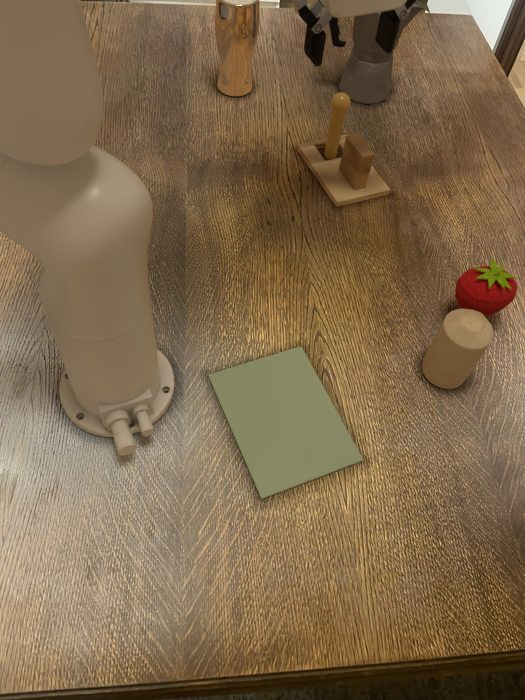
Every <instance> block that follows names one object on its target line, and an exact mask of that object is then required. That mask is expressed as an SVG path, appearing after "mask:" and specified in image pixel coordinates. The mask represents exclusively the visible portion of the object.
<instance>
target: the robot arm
mask: <svg viewBox="0 0 525 700" xmlns="http://www.w3.org/2000/svg"><path fill="white" fill-rule="evenodd" d="M416 1H417V0H313V2H312V3H311V4H310V6H308V1H307V0H291V3H292V5H293V7H294V11H295V13H296V14H297V15H298V16H299V18H300V19H301V20H302V21H303V22H304V23H305V24H306V26H305V27H306V28H305V36H304V44H303V52H304V54H305V55H306V57H307V58H308V59H309V61H310V62H311V63H312V64H313V65H314V67H320V66H321V65H322V64H323V61H324V60H323V59H324V52H325V45H326V40H327V33H326V31H325V30H324V29H325V28H326V27H327V25H329V21H330V20H331V19H332V17H336V18H338V19H347V18H354V17H355V16H361V15H367V14H373V13H379V12H381V14H380V19H379V23H378V28H377V32H376V37H375V41H376V43H377V44H378V45H379V46H380V47H381V48H382V49H383V50H384V51H385V52H386V53H391V52H392V50H393V46H394V42H395V40H396V37H397V33H398V29H399V25H400V21H401V19H404V18H405V17H406V15H407V13H408V11H407V10H408V9H409V8H410V7H411V6H412V5H413V4H414V3H415V2H416ZM104 102H105V101H104V90H103V84H102V79H101V74H100V70H99V67H98V64H97V58H96V54H95V50H94V46H93V43H92V39H91V35H90V31H89V28H88V23H87V20H86V16H85V12H84V8H83V5H82V1H81V0H0V233H2V234H3V235H4V236H6V237H7V239H9V240H11V241H13V242H14V243H15V244H17V245H18V246H20V247H21V248H23V249H24V250H26V251H27V252H28V253H29V254H30V255H32V256H33V257H34V258H35V259H36V260H37V261H38V262H39V263H40V264H41V266H42V267H43V269H44V270H43V271H42V273H41V275H40V277H39V282H38V294H39V298H40V300H39V301H40V303H41V306H42V308H43V312H44V315H45V317H46V319H47V322H48V325H49V328H50V331H51V333H52V336H53V340H54V342H55V344H56V347H57V350H58V353H59V355H60V358H61V361H62V364H63V367H64V370H63V372H62V373H61V377H60V381H59V386H58V387H59V389H58V392H59V398H60V402H61V406H62V408H63V410H64V412H65V414H66V415H67V417H68V418H69V421H71V422H72V423H73V424H74V425H75V426H77V428H79V429H81V430H83V431H85V432H86V433H89V434H92V435H94V436H98V437H104V438H113V441H114V444H115V447H116V451H117V454H118V455H119V456H128V455H131V454H133V453H135V451H137V448H138V447H137V444H136V441H135V437H134V436H133V435H134V434H137V433H140V435H141V436H142V437H149V436H151V435H153V434H154V433H155V428H154V426H153V425H154V424H155V423H157V421H158V420H160V419H161V417H162V416H163V415H164V414H165V413H166V412H167V410H168V408H169V407H170V405H171V403H172V401H173V397H174V394H175V382H176V381H175V374H174V371H173V368H172V365H171V363H170V361H169V360H168V357H166V356H165V354H164V353H163V352H162V351H161V350H159V349H158V348H157V340H156V331H155V323H154V322H155V321H154V316H153V314H154V313H153V307H152V297H151V292H150V284H149V272H148V252H149V244H150V239H151V232H152V225H153V217H154V205H153V200H152V196H151V194H150V192H149V189H148V188H147V186H146V184H145V183H144V181H143V180H142V179H141V178H140V177H139V175H138V174H136V172H135V171H134V170H133V169H131V168H130V167H129V166H128V165H127V164H126V163H124V162H123V161H121V160H120V159H118V158H117V157H116V156H114V155H112V154H111V153H109V152H107V151H106V150H105V149H103V148H101V147H100V146H98V145H95V143H96V141H97V140H98V138H99V135H100V133H101V131H102V126H103V121H104V115H105V106H104Z"/></svg>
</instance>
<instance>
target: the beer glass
mask: <svg viewBox="0 0 525 700" xmlns="http://www.w3.org/2000/svg"><path fill="white" fill-rule="evenodd" d="M260 8H261V7H260V0H215V9H214V10H215V11H214V33H215V41H216V47H217V48H216V49H217V54H218V61H219V68H218V69H219V70H218V75H217V81H216V87H217V89H218V91H220V92H221V93H222V94H224V95H226V96H229V97H242V96H245V95H248V94H249V93H250V92H251V91H252V90H253V78H252V63H253V58H254V54H255V50H256V46H257V42H258V37H259V31H260V18H261V17H260V15H261V13H260Z"/></svg>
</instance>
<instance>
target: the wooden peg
mask: <svg viewBox="0 0 525 700" xmlns="http://www.w3.org/2000/svg"><path fill="white" fill-rule="evenodd" d="M330 106H331V114H330V120H329V125H328V132H327V137H326V138H327V141H326V146H325V148H324V152H323V157H324V158H326V159H327V160H332V159H336V158H338V157H337V156H338V151H339V149H338V147H339V142H340V138H341V135H342V133H343V128H344V122H345V118H346V114H347V111H348V110H349V109H350V107H351V100H350V98H349V96H348V95H347V94H346V93H343V92H341V91H340V92H337V93H335V94H334V95H333V96H332V98H331V99H330Z"/></svg>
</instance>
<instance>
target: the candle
mask: <svg viewBox="0 0 525 700" xmlns="http://www.w3.org/2000/svg"><path fill="white" fill-rule="evenodd" d="M493 340H494V328H493V326H492V324H491V323H490V321H489V320H488V318H486V316H485V317H484V315H483V314H482V313H480V312H478V311H475V310H470V309H461V308H457V309H453V310H451V311H450V312H448V313H447V314H446V315H445V317H444V319H443V320H442V323H441V324H440V326H439V328H438V330H437V332H436V333H435V336H434V337H433V339H432V342H431V343H430V345H429V348H428V349H427V351H426V352H425V355H424V357H423V359H422V362H421V370H422V373H423V375H424V377H425V379H427V381H428V382H429V383H431V384H432V385H433V386H436V387H437V388H440V389H444V390H453V389H457V388H459V387H460V386H462V385H463V384H464V383H465V382H466V380H467V379H468V377H469V376H470V374H471V373H472V371H473V370H474V368H475V367H476V365H477V364H478V363H479V361H480V359H481V358H482V356H483V355H484V354H485V352H486V350H487V349H488V347H489V346H490V344H491V343H492V342H493Z"/></svg>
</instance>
